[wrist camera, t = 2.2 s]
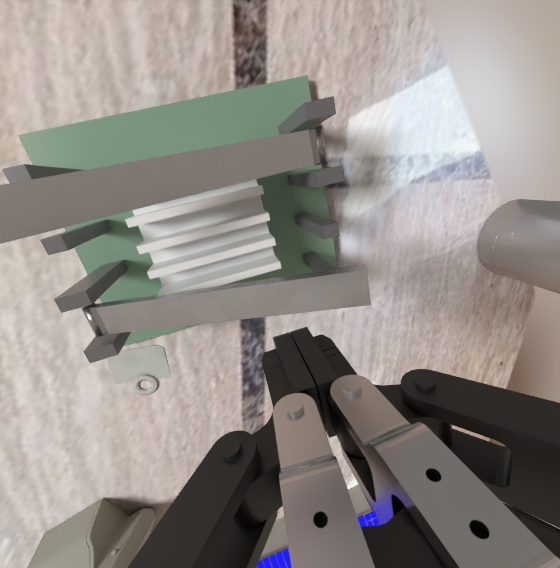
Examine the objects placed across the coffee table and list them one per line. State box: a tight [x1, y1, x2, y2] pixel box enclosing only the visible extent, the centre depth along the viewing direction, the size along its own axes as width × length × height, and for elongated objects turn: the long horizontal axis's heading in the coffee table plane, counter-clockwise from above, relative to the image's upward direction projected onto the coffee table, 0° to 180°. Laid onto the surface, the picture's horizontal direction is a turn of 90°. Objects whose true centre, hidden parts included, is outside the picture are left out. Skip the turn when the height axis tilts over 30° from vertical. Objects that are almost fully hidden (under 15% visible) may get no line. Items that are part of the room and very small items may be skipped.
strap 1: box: [0, 126, 328, 244], centre depth 16 cm, size 20×2×1 cm, turn 102°
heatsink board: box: [2, 76, 345, 363], centre depth 24 cm, size 24×20×10 cm
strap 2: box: [81, 265, 371, 337], centre depth 19 cm, size 20×2×1 cm, turn 103°
